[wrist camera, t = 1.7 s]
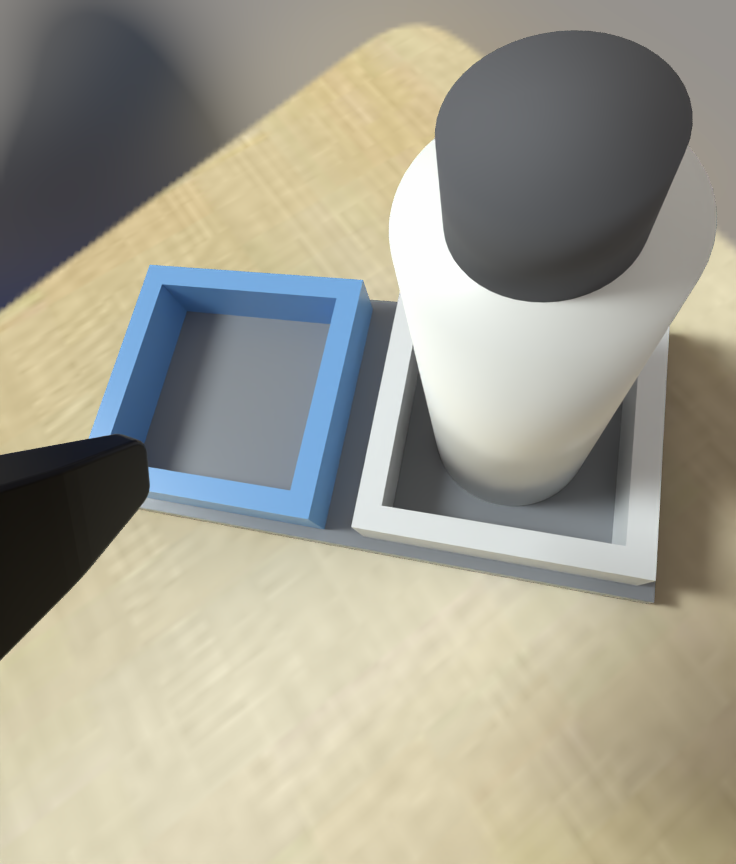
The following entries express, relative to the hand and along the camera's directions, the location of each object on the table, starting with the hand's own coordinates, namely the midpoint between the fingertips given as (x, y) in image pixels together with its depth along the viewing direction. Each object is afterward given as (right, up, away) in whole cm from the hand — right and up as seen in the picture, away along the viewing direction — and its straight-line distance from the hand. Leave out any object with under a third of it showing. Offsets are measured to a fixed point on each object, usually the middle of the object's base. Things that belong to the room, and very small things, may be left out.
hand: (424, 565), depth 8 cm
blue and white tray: (-1, +2, +14) cm, 14 cm away
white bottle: (+4, +2, +12) cm, 13 cm away
